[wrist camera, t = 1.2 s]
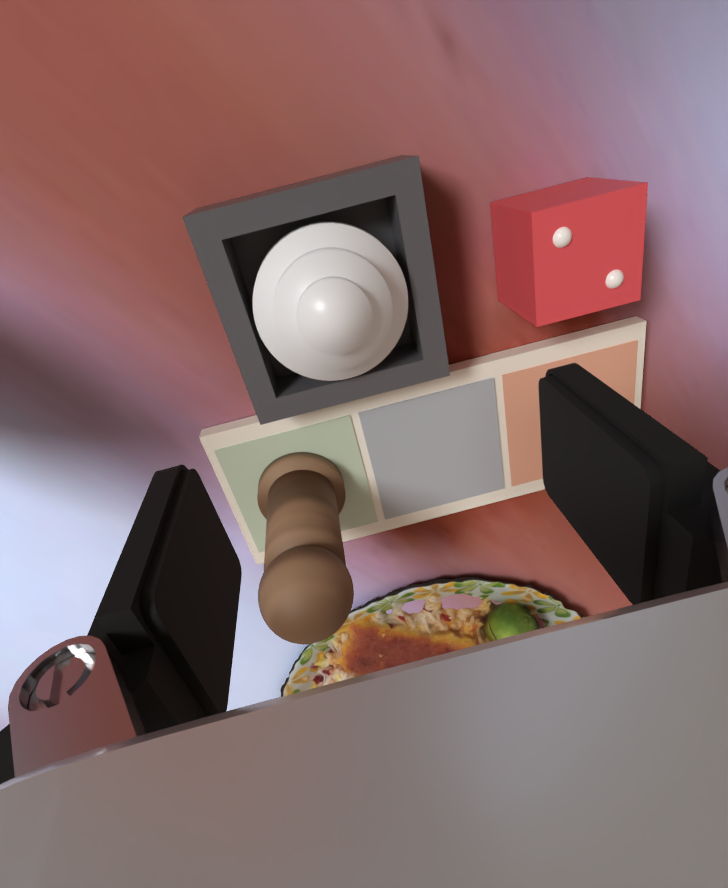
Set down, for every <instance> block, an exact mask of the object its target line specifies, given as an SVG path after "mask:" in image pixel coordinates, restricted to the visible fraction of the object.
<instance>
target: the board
mask: <svg viewBox="0 0 728 888" xmlns="http://www.w3.org/2000/svg"><path fill="white" fill-rule="evenodd" d="M645 335H646V321H645V320H643V319H641V318H639V317H637V316H634V317H630V318H627V319H623V320H619V321H615V322H611V323H607V324H604V325H600V326H596V327H592V328H588V329H584V330H581V331H577V332H573V333H569V334H565V335H561V336H558V337H554V338H550V339H546V340H542V341H538V342H535V343H531V344H527V345H523V346H519V347H515V348H512V349H508V350H504V351H500V352H496V353H492V354H489V355H485V356H481V357H477V358H473V359H469V360H466V361H462V362H458V363H454V364H450V365H449V370H450V376H446V377H442V378H439V379H435V380H431V381H427V382H423V383H419V384H416V385H412V386H408V387H404V388H400V389H396V390H393V391H389V392H385V393H381V394H377V395H373V396H370V397H366V398H362V399H358V400H354V401H350V402H347V403H343V404H339V405H335V406H331V407H327V408H324V409H320V410H316V411H312V412H308V413H304V414H301V415H297V416H293V417H289V418H285V419H281V420H278V421H274V422H270V423H266V424H262V425H260V422H259V420H258V417H257V415H255V416H251V417H247V418H243V419H239V420H236V421H232V422H228V423H224V424H220V425H216V426H213V427H209V428H205V429H202V430H201V433H200V437H199V438H200V441H201V443H202V445H203V447H204V449H205V452H206V454H207V456H208V458H209V460H210V463H211V465H212V467H213V469H214V471H215V474H216V476H217V478H218V480H219V482H220V485H221V487H222V489H223V491H224V494H225V496H226V498H227V500H228V502H229V505H230V507H231V509H232V511H233V513H234V516H235V518H236V520H237V522H238V524H239V527H240V529H241V531H242V533H243V535H244V538H245V540H246V542H247V544H248V546H249V549H250V551H251V553H252V555H253V557H254V560H255V562H256V564H261V563H264V558H265V539H266V521H267V520H266V518H265V517H264V516H263V515H262V513H261V511H260V509H259V506H258V501H257V494H258V484H259V479H260V477H261V475H262V473H263V471H264V470H265V468H266V467H267V466H268V465H269V464H270V463H271V462H273V461H274V460H275V459H277V458H279V457H281V456H283V455H286V454H289V453H294V452H310V453H315V454H318V455H321V456H323V457H325V458H327V459H329V460H330V461H331V462H333V463H334V464H335V465H336V466H337V468H338V469H339V471H340V472H341V474H342V477H343V481H344V487H345V494H346V497H345V503H344V506H343V509H342V511H341V512H340V514H339V521H340V528H341V535H342V542H345V541H349V540H353V539H356V538H360V537H364V536H368V535H372V534H375V533H379V532H383V531H387V530H391V529H395V528H398V527H402V526H406V525H410V524H414V523H418V522H421V521H425V520H429V519H433V518H437V517H440V516H444V515H448V514H452V513H456V512H460V511H463V510H467V509H471V508H475V507H479V506H482V505H486V504H490V503H494V502H498V501H502V500H505V499H509V498H513V497H517V496H521V495H525V494H528V493H532V492H536V491H540V490H544V489H545V486H544V483H543V471H542V450H541V429H540V408H539V387H538V385H539V380H540V378H543V377H545V375H546V372H547V370H548V369H552V368H556V367H560V366H563V365H567V364H571V363H577V364H579V365H580V366H581V367H583V368H584V369H586V370H587V371H588V372H590V373H591V374H593V375H594V376H595V377H597V378H598V379H599V380H601V381H602V382H604V383H605V384H606V385H608V386H609V387H610V388H612V389H613V390H615V391H616V392H617V393H619V394H620V395H622V396H623V397H624V398H626V399H627V400H628V401H630V402H631V403H633V404H634V405H635V406H637V407H638V408H641V393H642V379H643V364H644V350H645Z"/></svg>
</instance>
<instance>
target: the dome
mask: <svg viewBox="0 0 728 888" xmlns="http://www.w3.org/2000/svg"><path fill="white" fill-rule="evenodd" d="M407 313H408V291H407V286H406V282H405V278H404V275H403V273H402V270H401V268H400V266H399V265H398V263H397V261H396V259H395V258H394V257H393V255H392V254H391V253H390V251H389V250H388V249H387V248H386V247H385V246H384V245H383V244H382V243H381V242H380V241H379V240H378V239H376V238H375V237H374V236H372V235H371V234H370V233H368V232H366V231H365V230H363V229H361V228H359V227H356V226H354V225H351V224H347V223H343V222H337V221H319V222H314V223H309V224H306V225H303V226H300V227H298V228H296V229H294V230H292V231H290V232H289V233H287V234H286V235H285V236H283V237H282V238H281V239H280V240H279V241H277V242H276V243H275V244H274V245H273V247H272V248H271V249H270V250H269V252H268V253H267V255H266V256H265V258H264V259H263V261H262V263H261V266H260V268H259V270H258V274H257V277H256V281H255V285H254V291H253V314H254V320H255V324H256V327H257V330H258V332H259V335H260V337H261V339H262V341H263V343H264V344H265V346H266V347H267V349H268V350H269V351H270V353H271V354H272V355H273V356H274V357H275V358H276V359H277V360H278V361H279V362H280V363H282V364H283V365H284V366H285V367H287V368H289V369H290V370H292V371H294V372H296V373H298V374H300V375H302V376H305V377H308V378H312V379H317V380H326V381H335V380H344V379H349V378H352V377H355V376H358V375H361V374H363V373H365V372H367V371H369V370H370V369H372V368H374V367H375V366H376V365H378V364H379V363H380V362H381V361H383V360H384V359H385V358H386V357H387V356H388V354H389V353H390V352H391V351H392V349H393V348H394V347H395V345H396V344H397V342H398V340H399V338H400V337H401V334H402V332H403V329H404V326H405V323H406V319H407Z"/></svg>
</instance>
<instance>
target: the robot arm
mask: <svg viewBox="0 0 728 888" xmlns="http://www.w3.org/2000/svg"><path fill="white" fill-rule="evenodd" d="M538 387H539V408H540V429H541V450H542V471H543V483H544V486H545V489H546V491H547V493H548V495H549V496H550V498H551V499H552V500H553V502H554V503H555V504H556V506H557V507H558V508H559V509H560V511H561V512H562V513H563V515H564V516H565V517H566V519H567V520H568V521H569V523H570V524H571V525H572V526H573V528H574V529H575V530H576V532H577V533H578V534H579V536H580V537H581V538H582V540H583V541H584V542H585V543H586V545H587V546H588V547H589V549H590V550H591V551H592V553H593V554H594V555H595V556H596V558H597V559H598V560H599V562H600V563H601V564H602V566H603V567H604V568H605V570H606V571H607V572H608V573H609V575H610V576H611V577H612V579H613V580H614V581H615V583H616V584H617V585H618V587H619V588H620V589H621V590H622V592H623V593H624V594H625V596H626V597H627V598H628V600H629V601H630V602H631V603H632V604H633V605H631V606H627V607H623V608H619V609H615V610H612V611H608V612H604V613H600V614H596V615H592V616H588V617H584V618H580V619H576V620H572V621H569V622H565V623H561V624H557V625H553V626H549V627H545V628H541V629H537V630H533V631H529V632H526V633H522V634H518V635H514V636H510V637H506V638H503V639H499V640H495V641H491V642H487V643H483V644H480V645H476V646H472V647H468V648H464V649H460V650H457V651H453V652H449V653H445V654H441V655H437V656H434V657H430V658H426V659H422V660H418V661H415V662H411V663H407V664H403V665H399V666H396V667H392V668H388V669H384V670H380V671H376V672H373V673H369V674H365V675H361V676H357V677H354V678H350V679H346V680H342V681H339V682H335V683H331V684H327V685H324V686H320V687H316V688H312V689H309V690H305V691H301V692H298V693H294V694H290V695H286V696H283V697H279V698H275V699H271V700H268V701H264V702H260V703H256V704H253V705H249V706H245V707H241V708H238V709H234V710H230V711H227V712H226V710H227V704H228V695H229V686H230V677H231V668H232V658H233V649H234V640H235V631H236V621H237V612H238V603H239V594H240V584H241V565H240V562H239V559H238V557H237V554H236V552H235V550H234V548H233V546H232V544H231V542H230V540H229V538H228V535H227V533H226V531H225V529H224V527H223V525H222V523H221V521H220V519H219V516H218V514H217V512H216V510H215V508H214V506H213V504H212V502H211V499H210V497H209V495H208V493H207V491H206V489H205V487H204V485H203V483H202V480H201V478H200V476H199V474H198V472H197V471H196V470H195V469H190V470H188V469H187V468H186V467H185V466H184V465H179V466H175V467H172V468H168V469H164V470H160V471H156V472H155V474H154V476H153V478H152V481H151V483H150V485H149V488H148V490H147V493H146V495H145V497H144V500H143V502H142V505H141V507H140V509H139V512H138V514H137V517H136V519H135V522H134V524H133V526H132V529H131V531H130V534H129V536H128V538H127V541H126V543H125V546H124V548H123V550H122V553H121V555H120V558H119V560H118V562H117V565H116V567H115V570H114V572H113V575H112V577H111V579H110V582H109V584H108V587H107V589H106V591H105V594H104V596H103V599H102V601H101V603H100V606H99V608H98V611H97V613H96V615H95V618H94V621H93V623H92V625H91V628H90V630H89V633H88V635H87V636H79V637H75V638H72V639H68V640H66V641H64V642H62V643H60V644H58V645H56V646H54V647H52V648H50V649H49V650H48V651H46V652H45V653H43V654H42V655H41V656H39V657H38V658H37V659H36V660H35V661H34V662H33V663H32V664H31V665H30V666H29V667H28V668H26V669H25V671H24V672H23V673H22V675H21V676H20V677H19V679H18V680H17V681H16V683H15V685H14V687H13V689H12V691H11V694H10V696H9V704H8V712H9V723H10V724H9V725H7V726H6V727H5V728H4V729H3V730H2V731H0V888H728V467H727V468H725V469H723V470H722V471H720V470H718V469H717V468H715V467H714V466H713V465H711V464H710V463H709V462H707V459H708V458H707V457H706V456H705V455H703V454H702V453H700V452H699V451H698V450H696V449H695V448H693V447H692V446H691V445H689V444H688V443H687V442H685V441H684V440H682V439H681V438H680V437H678V436H677V435H676V434H674V433H673V432H671V431H670V430H669V429H667V428H666V427H664V426H663V425H662V424H660V423H659V422H658V421H656V420H655V419H653V418H652V417H651V416H649V415H648V414H646V413H645V412H644V411H642V410H641V409H640V408H638V407H637V406H635V405H634V404H633V403H631V402H630V401H628V400H627V399H626V398H624V397H623V396H622V395H620V394H619V393H617V392H616V391H615V390H613V389H612V388H610V387H609V386H608V385H606V384H605V383H604V382H602V381H601V380H599V379H598V378H597V377H595V376H594V375H593V374H591V373H590V372H588V371H587V370H586V369H584V368H583V367H581V366H580V365H579V364H577V363H571V364H567V365H563V366H560V367H556V368H552V369H548V370H547V372H546V375H545V377H543V378H540V380H539V385H538Z"/></svg>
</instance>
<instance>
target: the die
mask: <svg viewBox="0 0 728 888" xmlns="http://www.w3.org/2000/svg"><path fill="white" fill-rule="evenodd" d="M647 187H648V182H636V181H624V180H612V179H600V178H588V177H586V178H583V179H579V180H575V181H571V182H567V183H563V184H559V185H556V186H552V187H548V188H544V189H540V190H536V191H533V192H529V193H525V194H521V195H517V196H513V197H510V198H506V199H502V200H498V201H494V202H490V208H491V219H492V231H493V243H494V255H495V267H496V279H497V291H498V300H499V301H500V302H501V303H503V304H504V305H506V306H507V307H509V308H510V309H511V310H513V311H514V312H516V313H517V314H519V315H520V316H521V317H523V318H524V319H526V320H527V321H529V322H530V323H531V324H533V325H534V326H536V327H539V326H543V325H547V324H551V323H555V322H558V321H562V320H566V319H570V318H574V317H578V316H581V315H585V314H589V313H593V312H597V311H601V310H604V309H608V308H612V307H616V306H620V305H624V304H627V303H631V302H635V301H639V300H641V285H642V269H643V253H644V236H645V220H646V203H647Z"/></svg>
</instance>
